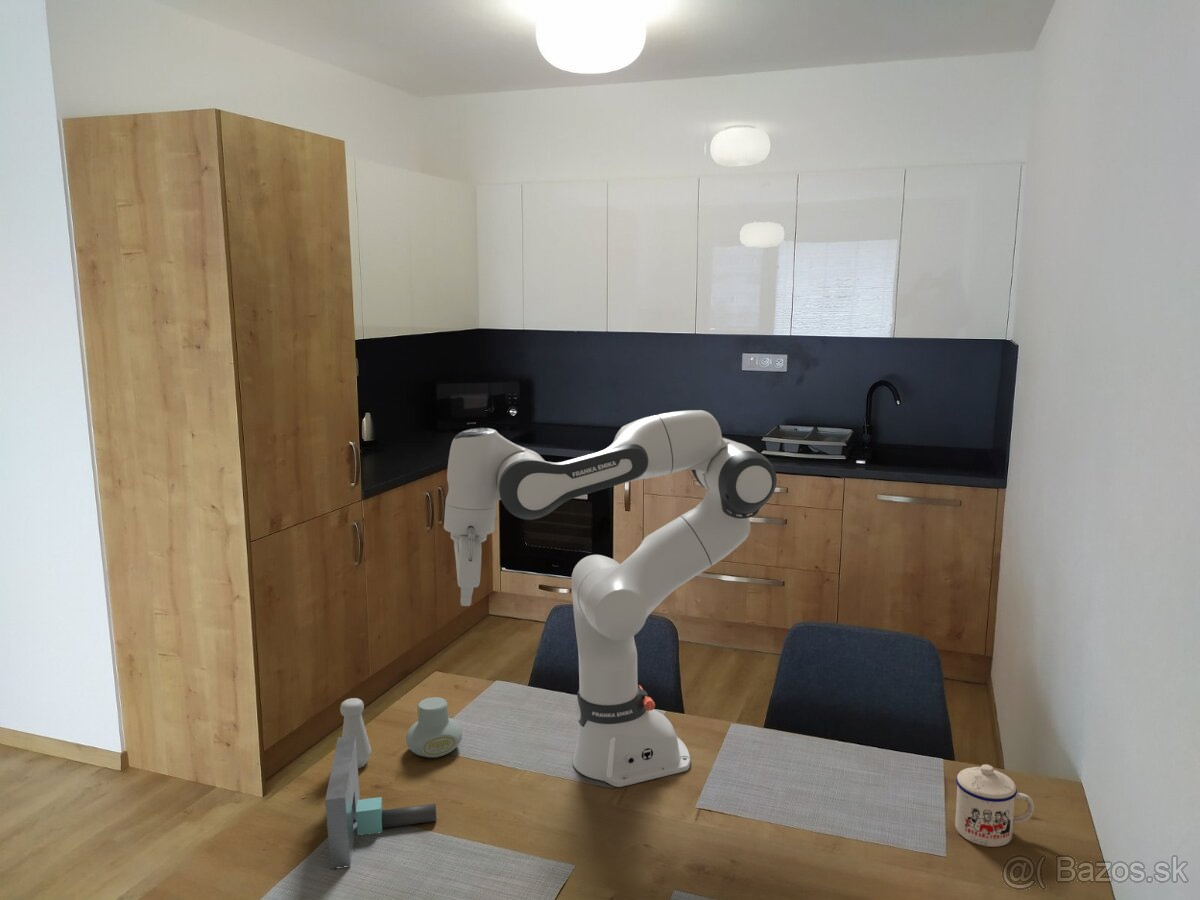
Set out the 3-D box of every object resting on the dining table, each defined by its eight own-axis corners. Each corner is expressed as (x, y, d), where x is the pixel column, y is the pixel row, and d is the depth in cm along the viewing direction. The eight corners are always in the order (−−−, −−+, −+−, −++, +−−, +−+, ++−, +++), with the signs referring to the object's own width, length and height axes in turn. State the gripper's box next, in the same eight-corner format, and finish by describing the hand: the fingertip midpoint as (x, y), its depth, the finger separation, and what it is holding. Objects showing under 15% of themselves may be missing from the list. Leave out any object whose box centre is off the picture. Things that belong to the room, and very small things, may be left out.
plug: (436, 813, 153) (434, 790, 152) (436, 825, 149) (435, 802, 148) (359, 823, 150) (357, 799, 149) (357, 835, 147) (355, 811, 146)
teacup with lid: (960, 846, 141) (964, 779, 139) (948, 813, 150) (951, 750, 148) (1040, 853, 139) (1045, 785, 137) (1023, 819, 148) (1028, 756, 146)
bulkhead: (359, 797, 158) (355, 735, 156) (350, 866, 139) (345, 797, 137) (342, 799, 157) (337, 737, 155) (330, 869, 138) (325, 800, 136)
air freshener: (456, 734, 180) (454, 689, 178) (467, 753, 173) (465, 706, 171) (403, 746, 176) (400, 700, 174) (412, 766, 168) (409, 718, 166)
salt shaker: (376, 756, 172) (371, 694, 170) (365, 772, 166) (361, 708, 164) (347, 755, 172) (342, 694, 170) (335, 771, 167) (331, 707, 165)
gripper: (491, 536, 144) (485, 616, 146) (484, 507, 164) (479, 578, 166) (452, 535, 143) (447, 615, 145) (450, 505, 163) (445, 577, 165)
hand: (464, 595), depth 156 cm, fingers open, 8 cm apart
